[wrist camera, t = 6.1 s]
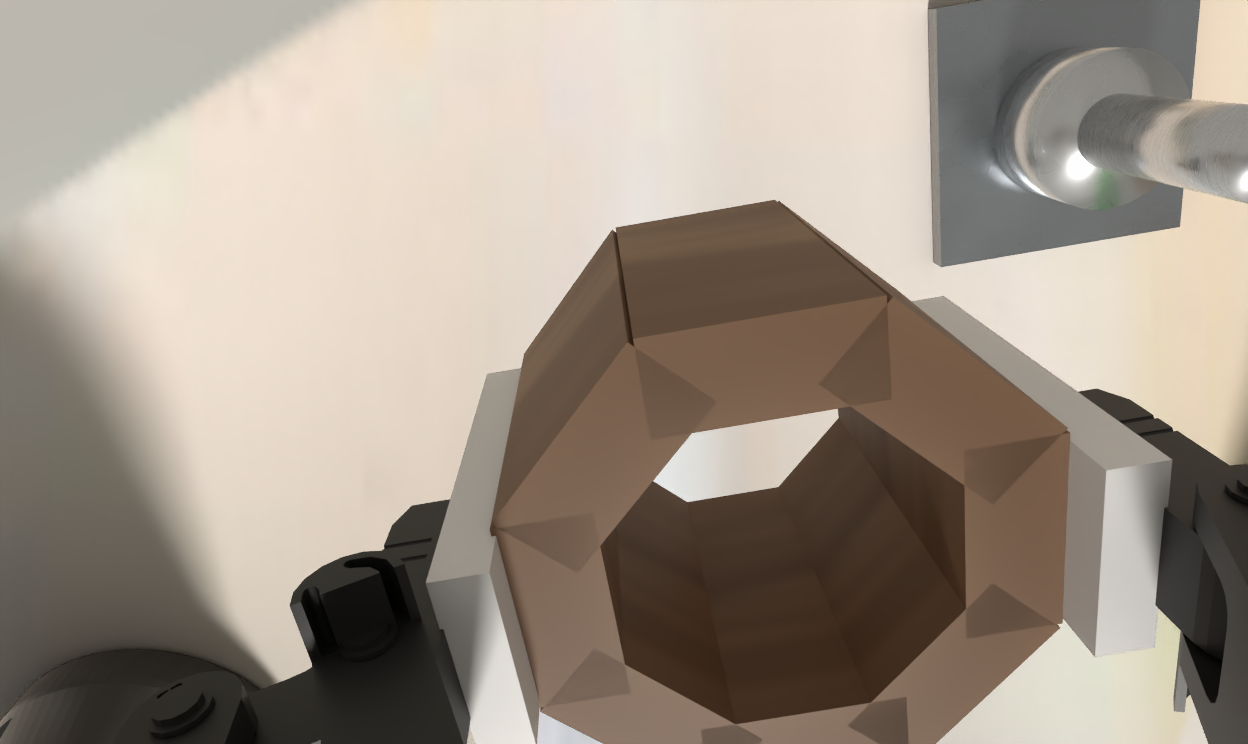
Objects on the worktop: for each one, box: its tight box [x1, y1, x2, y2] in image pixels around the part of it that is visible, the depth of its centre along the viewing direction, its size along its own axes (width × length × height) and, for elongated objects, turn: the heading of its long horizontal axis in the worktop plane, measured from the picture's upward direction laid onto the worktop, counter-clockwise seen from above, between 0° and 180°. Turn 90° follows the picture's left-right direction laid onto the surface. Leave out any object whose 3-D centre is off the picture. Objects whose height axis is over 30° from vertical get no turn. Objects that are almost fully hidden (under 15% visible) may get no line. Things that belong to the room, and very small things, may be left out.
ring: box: [490, 200, 1070, 744], centre depth 14 cm, size 7×7×6 cm
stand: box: [928, 0, 1248, 267], centre depth 28 cm, size 10×10×12 cm
